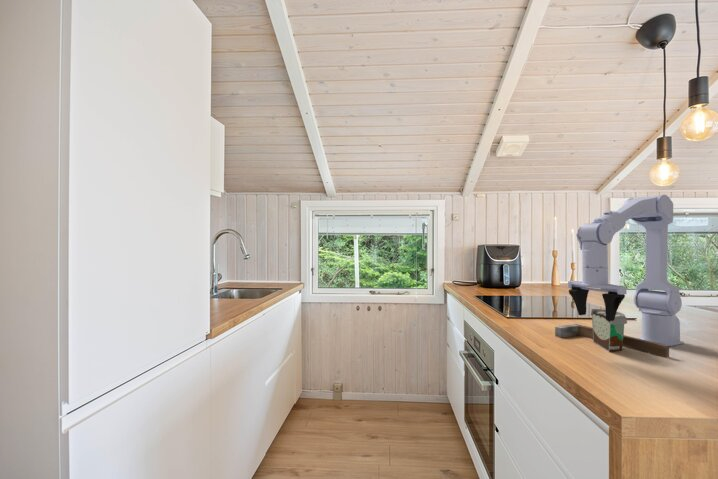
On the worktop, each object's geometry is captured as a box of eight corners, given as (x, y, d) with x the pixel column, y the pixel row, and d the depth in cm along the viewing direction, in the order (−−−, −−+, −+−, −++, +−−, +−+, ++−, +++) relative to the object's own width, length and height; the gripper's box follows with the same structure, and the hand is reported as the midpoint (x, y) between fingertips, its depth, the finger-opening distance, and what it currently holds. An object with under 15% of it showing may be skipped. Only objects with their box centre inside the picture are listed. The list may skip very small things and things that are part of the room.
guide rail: (575, 332, 115) (575, 323, 115) (669, 356, 91) (669, 345, 91) (555, 336, 112) (555, 326, 112) (646, 361, 87) (646, 350, 87)
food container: (637, 355, 93) (637, 317, 93) (612, 353, 94) (611, 317, 94) (613, 341, 105) (613, 309, 105) (591, 341, 106) (590, 308, 106)
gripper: (560, 266, 98) (560, 313, 98) (613, 269, 85) (613, 324, 85) (577, 265, 101) (578, 311, 101) (631, 268, 87) (632, 322, 87)
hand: (595, 317), depth 93 cm, fingers open, 7 cm apart
